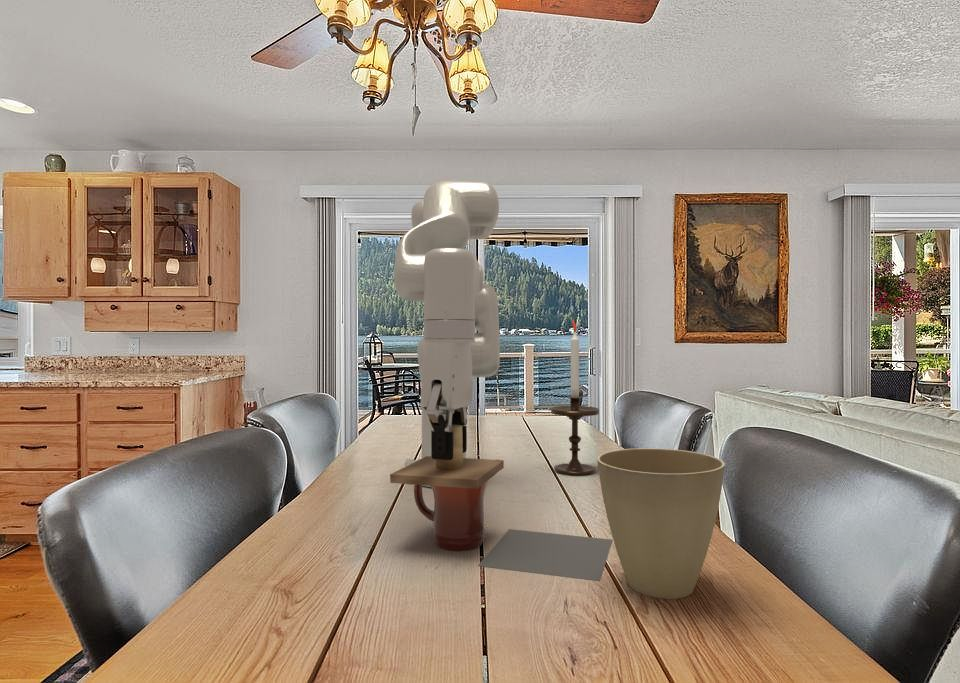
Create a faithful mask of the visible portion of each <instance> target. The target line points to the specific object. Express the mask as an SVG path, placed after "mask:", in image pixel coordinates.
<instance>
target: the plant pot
mask: <svg viewBox="0 0 960 683" xmlns="http://www.w3.org/2000/svg"><path fill="white" fill-rule="evenodd" d="M596 459H597V460H596V462H597V469H598V475H599V481H600V487H601V494H602V499H603V500H602V501H603V504H604V507H605V508H604V509H605V512H606V517H607V522H608V524H609V528H610V532H611V537H612V540H613V543H614V546H615V547H614V548H615V549H616V552H617V556H618V559H619V562H620V566H621V568H622V570H623V574H624V575H625V578H626V581H627V583H628V584H627V585H628V586H629V587H630V589H632V590H634V591H635V592H637V593H639V594H641V595H645V596H648V597H650V598H657V599H665V600H667V599H668V600H670V599H671V600H672V599H673V600H676V599H682V598H686V597H688V596H690V595H691V594H693V591H694V590H695V587H696V584H697V582H698V579H699V576H700V574H701V571H702V569H703V566H704V563H705V560H706V557H707V554H708V550H709V547H710V543H711V540H712V536H713V533H714V529H715V525H716V520H717V516H718V513H719V512H718V510H719V505H720V500H721V496H722V495H721V494H722V487H723V481H724V474H725V466H726V463H725V461H724V460H722V459H720V458H718V457H715V456H713V455H710V454H706V453H701V452H696V451H690V450H682V449H671V448H658V447H657V448H654V447H653V448H651V447H650V448H649V447H648V448H647V447H645V448H621V449H615V450H610V451H606V452H603V453H601V454H599V455H598V456H597V458H596Z"/></svg>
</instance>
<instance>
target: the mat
mask: <svg viewBox="0 0 960 683" xmlns="http://www.w3.org/2000/svg"><path fill="white" fill-rule="evenodd" d="M613 542H614V540H613V539H612V538H611V539H609V538H602V537H601V538H600V537H591V536H581V535H572V534H569V535H568V534H561V533H559V534H558V533H553V532H552V533H550V532H541V531H531V530H521V529H520V530H519V529H512V528H509V529H507V531H506V532H505V534H503V535H502V537H501V538H500V539H499V540H498V541H497V543H496V544H495V545H494V546H493V548H492V549H490V551H489V552H488V553H487V554H486V555H485V557H484V558H483V559H482V560H481V561H480V562H479V563H478V564H477V567H481V568H488V569H497V570H498V569H499V570H504V571H505V570H506V571H513V572H521V573H528V574H529V573H530V574H537V575H544V576H545V575H546V576H554V577H560V578H561V577H563V578H570V579H577V580H587V581H593V582H600V581H601V578H602V576H603V572H604V570H605V569H604V568H605V566H606V563H607V559H608V557H609V553H610V550H611V546H612V543H613Z"/></svg>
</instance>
